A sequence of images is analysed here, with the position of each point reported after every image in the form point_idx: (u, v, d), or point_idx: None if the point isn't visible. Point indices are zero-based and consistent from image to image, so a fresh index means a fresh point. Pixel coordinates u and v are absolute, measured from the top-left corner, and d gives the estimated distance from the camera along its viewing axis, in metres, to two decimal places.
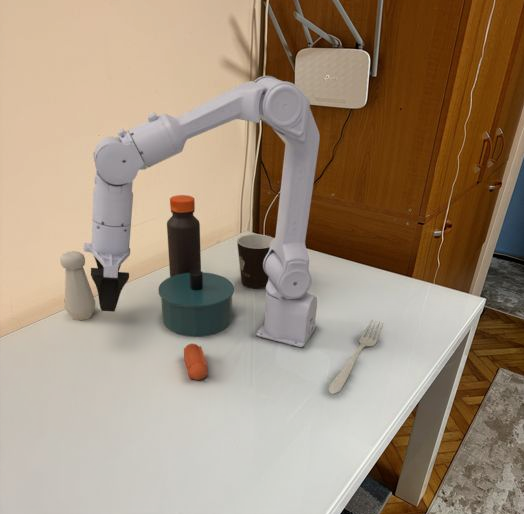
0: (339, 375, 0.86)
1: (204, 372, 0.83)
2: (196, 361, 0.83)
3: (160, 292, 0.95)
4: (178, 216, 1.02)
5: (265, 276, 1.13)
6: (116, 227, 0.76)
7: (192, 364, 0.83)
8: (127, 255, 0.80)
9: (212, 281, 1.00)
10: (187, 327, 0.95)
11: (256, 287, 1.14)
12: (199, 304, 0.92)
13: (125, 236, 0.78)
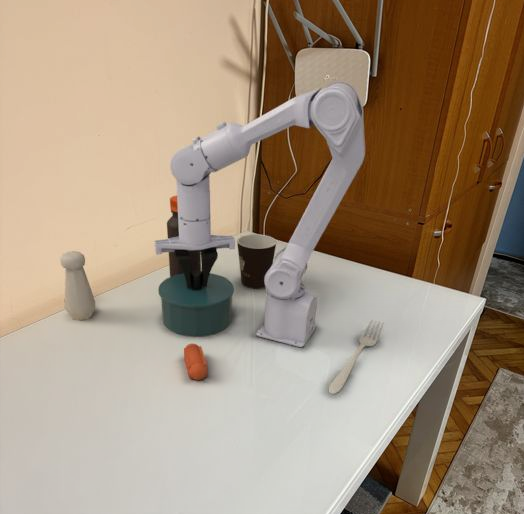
0: (339, 375, 0.86)
1: (204, 372, 0.83)
2: (196, 361, 0.83)
3: (160, 292, 0.95)
4: None
5: None
6: (179, 218, 0.89)
7: (192, 364, 0.83)
8: (186, 247, 0.90)
9: (212, 281, 1.00)
10: (187, 327, 0.95)
11: (256, 287, 1.14)
12: (199, 304, 0.92)
13: (185, 230, 0.89)
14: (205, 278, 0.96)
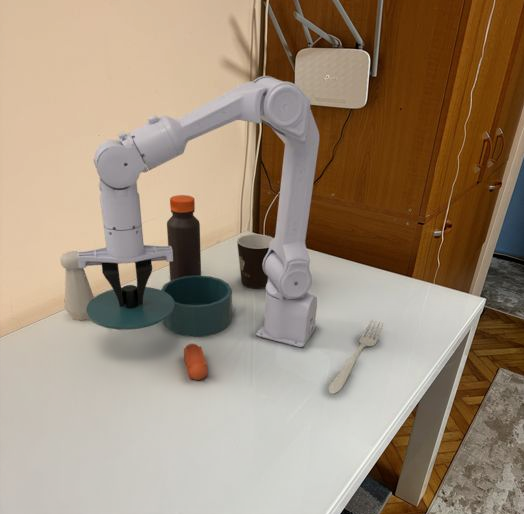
0: (339, 375, 0.86)
1: (204, 372, 0.83)
2: (196, 361, 0.83)
3: (88, 311, 0.83)
4: (178, 216, 1.02)
5: (265, 276, 1.13)
6: (104, 227, 0.77)
7: (192, 364, 0.83)
8: (113, 260, 0.78)
9: (151, 297, 0.88)
10: (187, 327, 0.95)
11: (256, 287, 1.14)
12: (129, 325, 0.80)
13: (111, 240, 0.77)
14: (140, 295, 0.83)
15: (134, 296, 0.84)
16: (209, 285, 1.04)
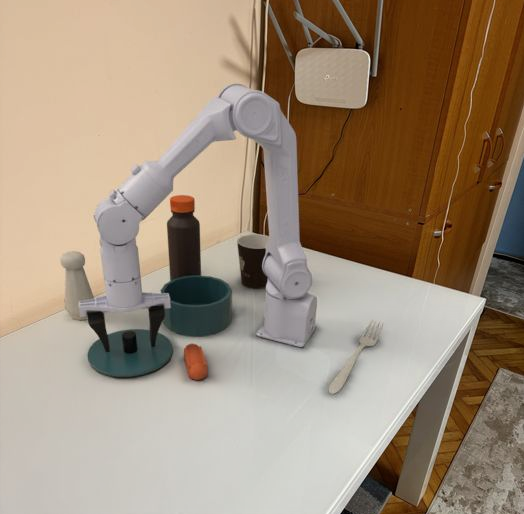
0: (339, 375, 0.86)
1: (204, 372, 0.83)
2: (196, 361, 0.83)
3: (89, 356, 0.87)
4: (178, 216, 1.02)
5: (265, 276, 1.13)
6: (104, 278, 0.80)
7: (192, 364, 0.83)
8: (113, 309, 0.81)
9: (149, 341, 0.91)
10: (187, 327, 0.95)
11: (256, 287, 1.14)
12: (129, 372, 0.83)
13: (111, 291, 0.80)
14: (152, 338, 0.87)
15: (133, 342, 0.87)
16: (209, 285, 1.04)
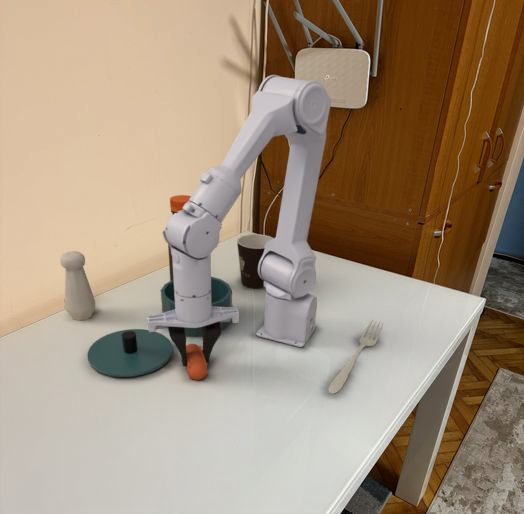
0: (339, 375, 0.86)
1: (204, 372, 0.83)
2: (196, 361, 0.83)
3: (89, 356, 0.87)
4: None
5: None
6: (175, 293, 0.78)
7: (192, 364, 0.83)
8: (184, 325, 0.79)
9: (149, 341, 0.91)
10: None
11: (256, 287, 1.14)
12: (129, 372, 0.83)
13: (182, 306, 0.78)
14: (207, 355, 0.84)
15: (133, 342, 0.87)
16: None
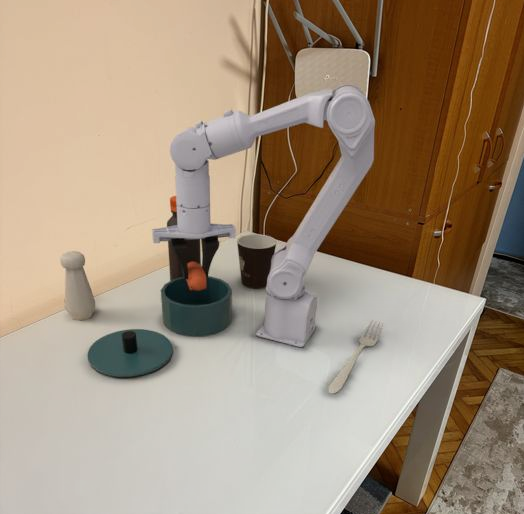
0: (339, 375, 0.86)
1: (204, 283, 0.91)
2: (196, 273, 0.91)
3: (89, 356, 0.87)
4: None
5: (265, 276, 1.13)
6: (177, 205, 0.86)
7: (192, 276, 0.91)
8: (185, 235, 0.87)
9: (149, 341, 0.91)
10: (187, 327, 0.95)
11: (256, 287, 1.14)
12: (129, 372, 0.83)
13: (184, 217, 0.85)
14: (206, 268, 0.92)
15: (133, 342, 0.87)
16: (209, 285, 1.04)
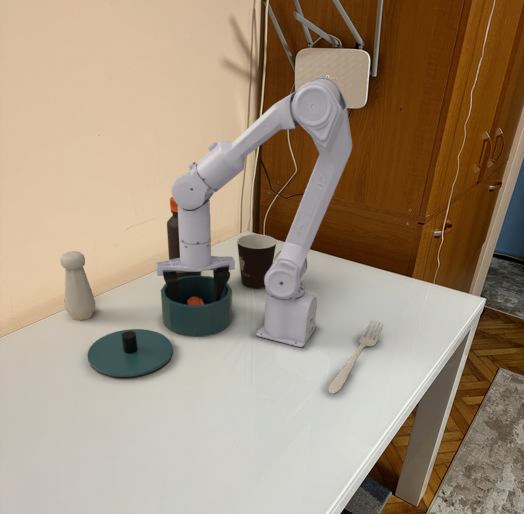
0: (339, 375, 0.86)
1: None
2: None
3: (89, 356, 0.87)
4: None
5: None
6: (180, 241, 0.91)
7: None
8: (187, 269, 0.92)
9: (149, 341, 0.91)
10: (187, 327, 0.95)
11: (256, 287, 1.14)
12: (129, 372, 0.83)
13: (186, 252, 0.91)
14: (217, 297, 0.98)
15: (133, 342, 0.87)
16: (209, 285, 1.04)
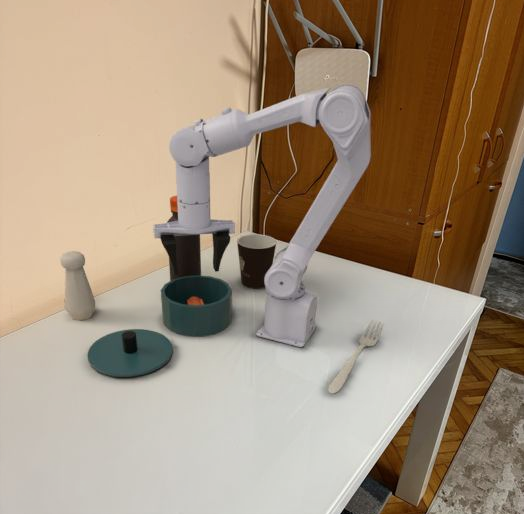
0: (339, 375, 0.86)
1: None
2: None
3: (89, 356, 0.87)
4: None
5: None
6: (178, 201, 0.88)
7: None
8: (185, 231, 0.89)
9: (149, 341, 0.91)
10: (187, 327, 0.95)
11: (256, 287, 1.14)
12: (129, 372, 0.83)
13: (184, 213, 0.87)
14: (217, 262, 0.95)
15: (133, 342, 0.87)
16: (209, 285, 1.04)
